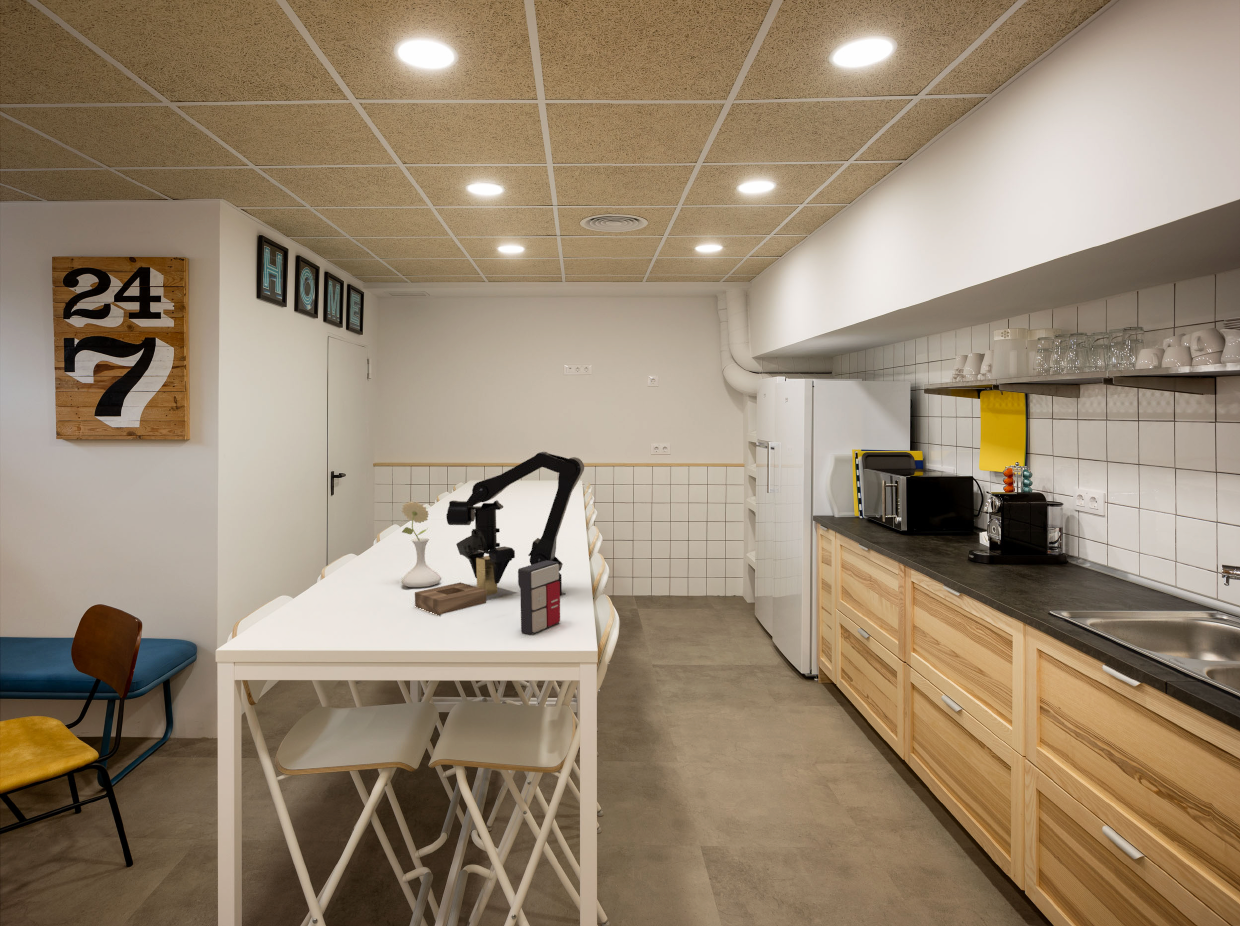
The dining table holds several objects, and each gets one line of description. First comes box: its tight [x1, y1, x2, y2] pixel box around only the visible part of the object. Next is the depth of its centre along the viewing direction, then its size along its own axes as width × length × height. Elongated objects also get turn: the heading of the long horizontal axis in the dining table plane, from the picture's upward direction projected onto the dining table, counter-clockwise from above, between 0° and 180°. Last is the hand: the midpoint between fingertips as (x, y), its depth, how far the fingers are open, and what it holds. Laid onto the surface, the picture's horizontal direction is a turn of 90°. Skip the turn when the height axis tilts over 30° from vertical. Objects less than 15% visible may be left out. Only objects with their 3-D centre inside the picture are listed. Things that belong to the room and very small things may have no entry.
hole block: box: [414, 582, 487, 616], centre depth 181 cm, size 12×14×4 cm
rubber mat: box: [486, 586, 518, 602], centre depth 192 cm, size 12×12×1 cm
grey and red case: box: [517, 560, 561, 635], centre depth 161 cm, size 11×4×15 cm, turn 148°
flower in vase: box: [400, 501, 442, 588], centre depth 202 cm, size 13×11×25 cm
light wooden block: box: [476, 555, 498, 596], centre depth 191 cm, size 4×4×10 cm
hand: (487, 580), depth 191 cm, fingers open, 9 cm apart
